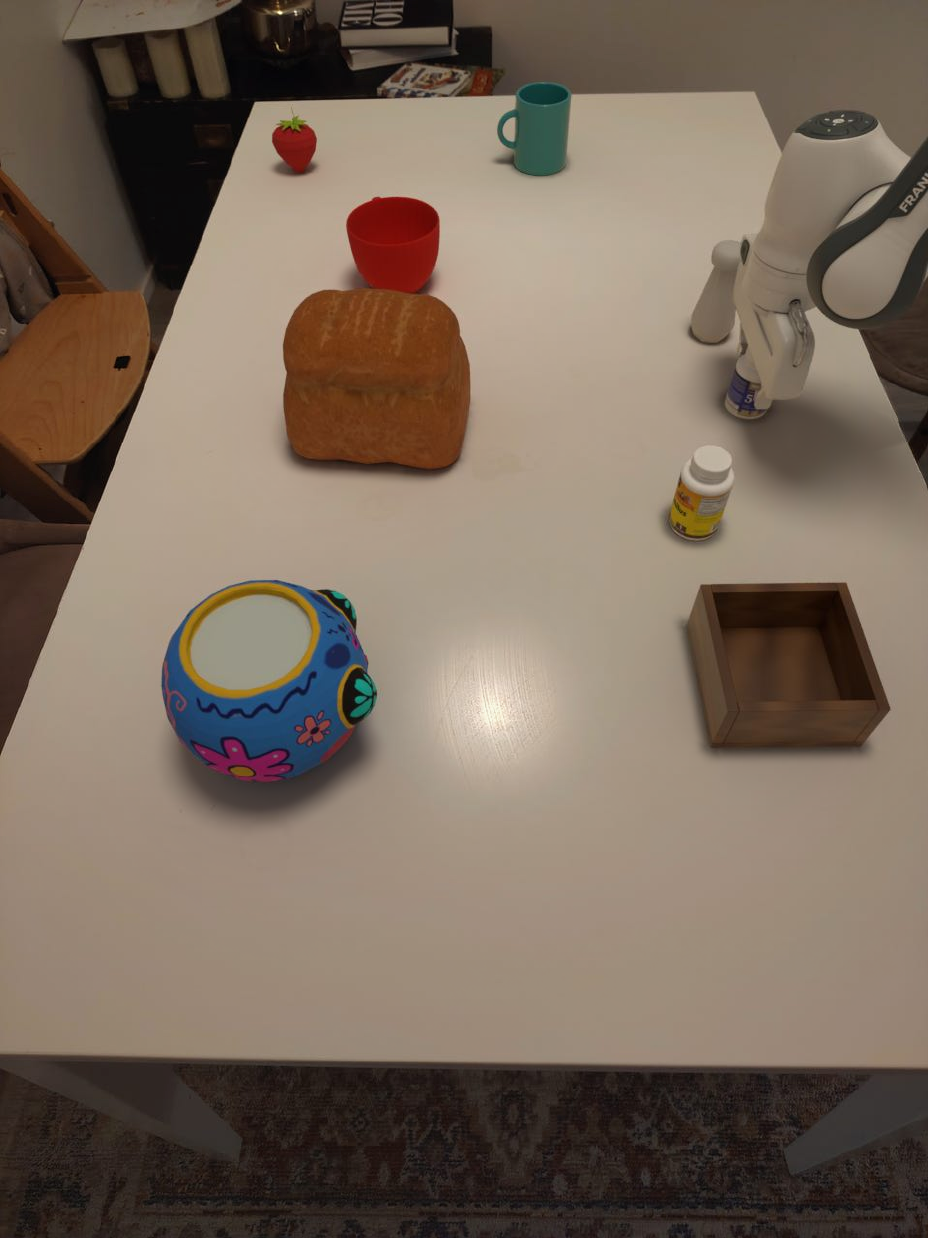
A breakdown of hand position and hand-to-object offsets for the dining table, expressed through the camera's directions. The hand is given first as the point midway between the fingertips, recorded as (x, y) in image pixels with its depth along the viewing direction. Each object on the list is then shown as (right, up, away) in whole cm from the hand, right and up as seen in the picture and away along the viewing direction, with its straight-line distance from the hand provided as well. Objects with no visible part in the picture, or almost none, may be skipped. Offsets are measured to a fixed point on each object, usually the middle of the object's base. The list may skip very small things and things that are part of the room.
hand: (751, 380), depth 101 cm
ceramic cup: (-46, +21, +22) cm, 55 cm away
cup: (-24, +49, +41) cm, 68 cm away
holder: (-6, -36, -20) cm, 41 cm away
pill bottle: (0, -2, +4) cm, 4 cm away
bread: (-46, -5, +2) cm, 46 cm away
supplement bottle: (-10, -19, -8) cm, 23 cm away
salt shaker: (-2, +10, +12) cm, 16 cm away
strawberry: (-64, +48, +41) cm, 90 cm away
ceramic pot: (-53, -40, -22) cm, 69 cm away
